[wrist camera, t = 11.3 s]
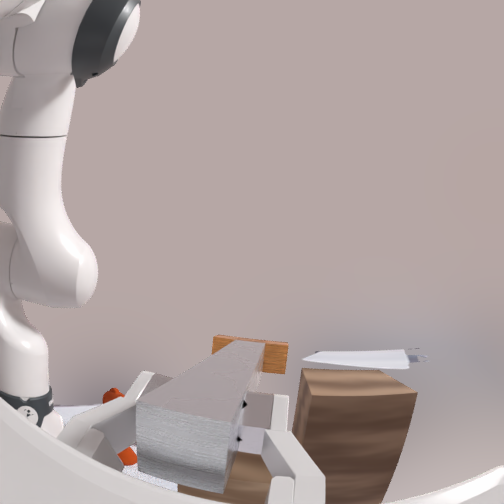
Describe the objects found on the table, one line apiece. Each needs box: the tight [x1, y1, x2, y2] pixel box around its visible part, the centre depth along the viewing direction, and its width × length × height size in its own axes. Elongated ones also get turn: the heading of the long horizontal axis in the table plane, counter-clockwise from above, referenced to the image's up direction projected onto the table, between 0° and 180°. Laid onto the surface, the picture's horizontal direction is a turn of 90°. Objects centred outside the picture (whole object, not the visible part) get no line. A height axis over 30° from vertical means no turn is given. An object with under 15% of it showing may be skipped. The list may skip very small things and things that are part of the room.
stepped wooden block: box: [178, 368, 417, 504], centre depth 23 cm, size 11×21×26 cm, turn 84°
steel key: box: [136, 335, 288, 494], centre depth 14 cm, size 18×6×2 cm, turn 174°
